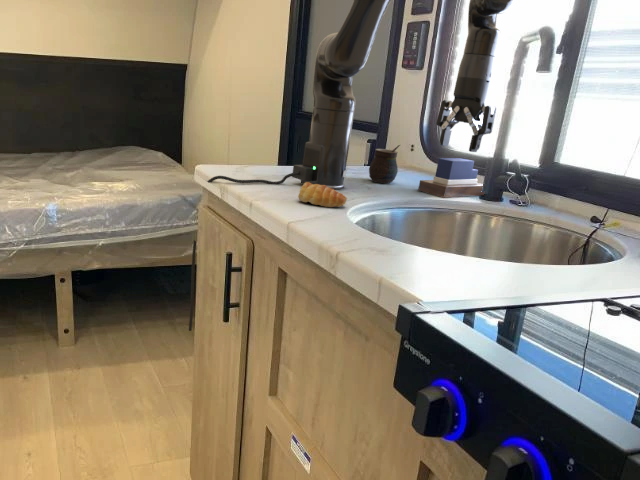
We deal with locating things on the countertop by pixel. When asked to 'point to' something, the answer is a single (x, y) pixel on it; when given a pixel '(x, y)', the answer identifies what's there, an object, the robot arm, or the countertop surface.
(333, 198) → the pastry
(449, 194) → the shelf board
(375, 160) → the mate gourd
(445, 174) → the navy stepped block
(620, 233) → the countertop surface
